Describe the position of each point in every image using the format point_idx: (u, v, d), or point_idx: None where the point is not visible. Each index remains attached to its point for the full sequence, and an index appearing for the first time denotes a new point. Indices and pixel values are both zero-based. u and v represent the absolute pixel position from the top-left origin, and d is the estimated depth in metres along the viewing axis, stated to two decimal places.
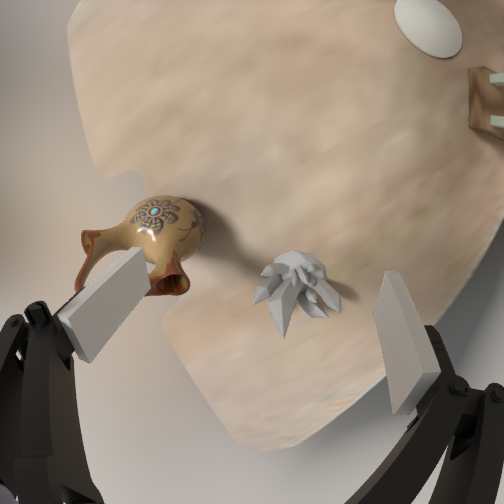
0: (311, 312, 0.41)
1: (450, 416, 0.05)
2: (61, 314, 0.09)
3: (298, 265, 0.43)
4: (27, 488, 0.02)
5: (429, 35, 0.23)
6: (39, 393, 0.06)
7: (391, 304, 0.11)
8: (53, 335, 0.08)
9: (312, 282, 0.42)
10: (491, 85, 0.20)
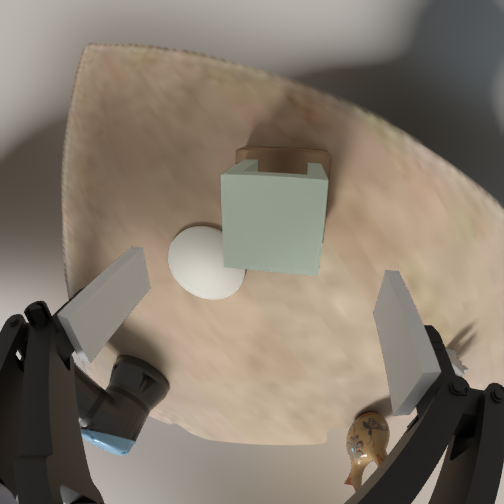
0: None
1: (450, 416, 0.05)
2: (61, 314, 0.09)
3: None
4: (27, 488, 0.02)
5: (221, 271, 0.40)
6: (39, 393, 0.06)
7: (391, 304, 0.11)
8: (53, 335, 0.08)
9: None
10: None
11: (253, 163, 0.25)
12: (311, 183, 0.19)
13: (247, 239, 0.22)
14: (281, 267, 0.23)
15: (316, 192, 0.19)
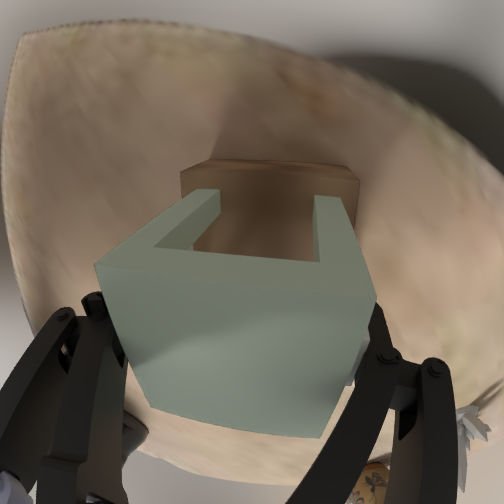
0: None
1: (384, 385, 0.07)
2: None
3: None
4: (49, 491, 0.03)
5: None
6: (83, 392, 0.06)
7: None
8: (110, 330, 0.09)
9: (459, 432, 0.25)
10: None
11: (203, 203, 0.13)
12: (326, 305, 0.06)
13: (178, 387, 0.09)
14: (250, 427, 0.10)
15: (339, 325, 0.07)
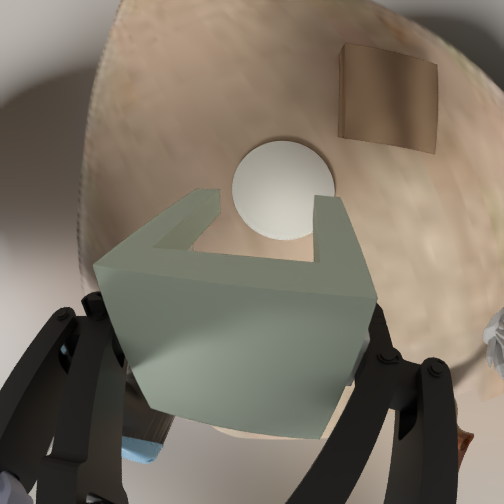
0: None
1: (384, 385, 0.07)
2: None
3: (495, 331, 0.32)
4: (49, 491, 0.03)
5: (304, 199, 0.31)
6: (84, 392, 0.06)
7: None
8: (110, 330, 0.09)
9: None
10: (371, 128, 0.22)
11: (202, 203, 0.13)
12: (326, 306, 0.06)
13: (178, 388, 0.09)
14: (250, 428, 0.10)
15: (339, 326, 0.07)
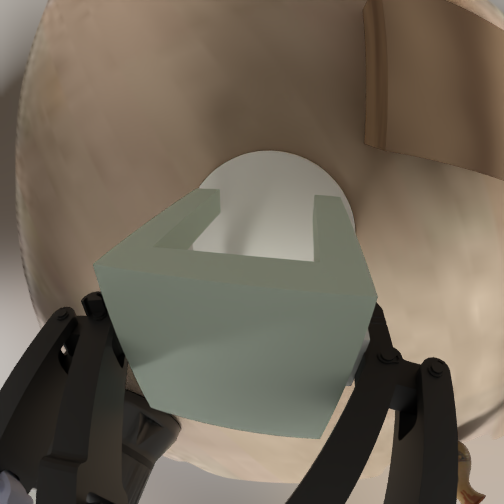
0: None
1: (384, 385, 0.07)
2: None
3: None
4: (49, 491, 0.03)
5: (305, 249, 0.19)
6: (84, 392, 0.06)
7: None
8: (110, 330, 0.09)
9: None
10: (434, 135, 0.10)
11: (202, 203, 0.13)
12: (327, 305, 0.06)
13: (178, 387, 0.09)
14: (250, 427, 0.10)
15: (339, 326, 0.07)
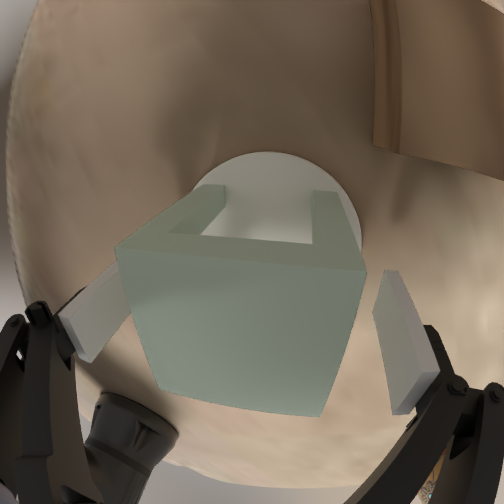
0: None
1: (449, 416, 0.05)
2: (62, 314, 0.09)
3: None
4: (27, 488, 0.02)
5: None
6: (40, 393, 0.06)
7: (390, 304, 0.11)
8: (54, 335, 0.08)
9: None
10: (453, 136, 0.09)
11: (210, 197, 0.14)
12: (323, 279, 0.07)
13: (187, 365, 0.10)
14: (254, 405, 0.11)
15: (334, 298, 0.08)
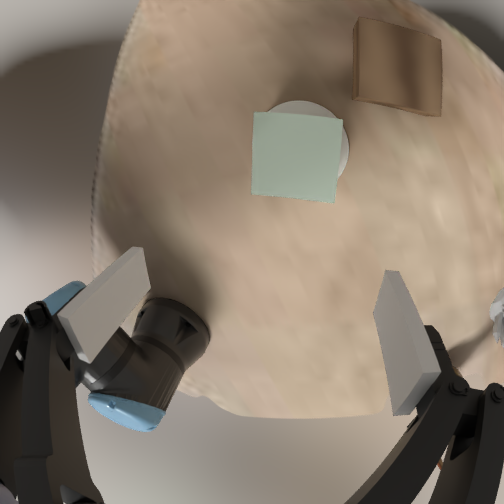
0: None
1: (450, 416, 0.05)
2: (61, 314, 0.09)
3: (502, 306, 0.33)
4: (27, 488, 0.02)
5: None
6: (39, 393, 0.06)
7: (391, 304, 0.11)
8: (53, 335, 0.08)
9: None
10: (383, 89, 0.22)
11: None
12: (329, 121, 0.21)
13: (274, 167, 0.24)
14: (302, 194, 0.25)
15: (333, 128, 0.22)
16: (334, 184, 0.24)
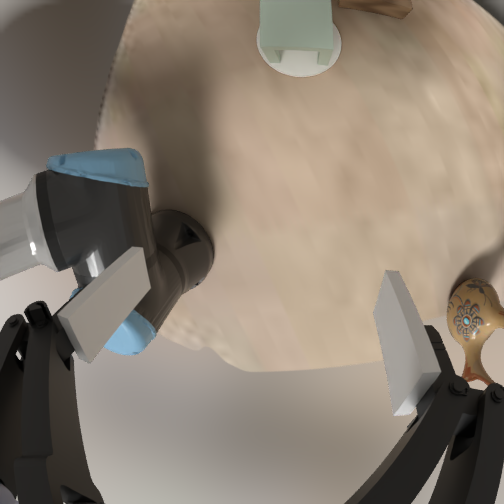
0: None
1: (450, 416, 0.05)
2: (61, 314, 0.09)
3: None
4: (27, 488, 0.02)
5: None
6: (39, 393, 0.06)
7: (391, 304, 0.11)
8: (53, 335, 0.08)
9: None
10: None
11: None
12: None
13: (278, 26, 0.22)
14: (305, 43, 0.22)
15: None
16: (331, 35, 0.21)
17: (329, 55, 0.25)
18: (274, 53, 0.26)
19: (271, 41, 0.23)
